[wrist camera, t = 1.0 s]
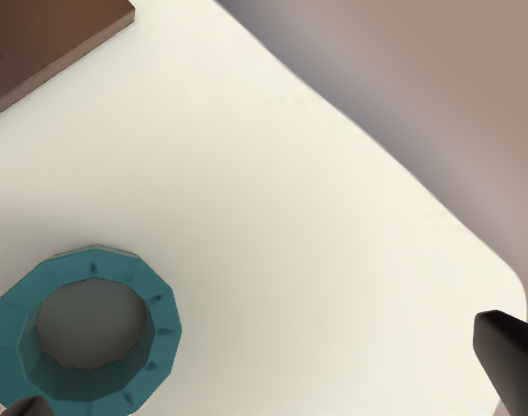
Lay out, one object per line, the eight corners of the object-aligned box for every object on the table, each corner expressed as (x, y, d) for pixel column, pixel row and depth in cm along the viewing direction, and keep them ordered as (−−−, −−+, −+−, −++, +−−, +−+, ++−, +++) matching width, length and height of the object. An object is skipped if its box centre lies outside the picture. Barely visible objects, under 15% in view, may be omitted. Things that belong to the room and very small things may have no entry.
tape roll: (90, 422, 17) (86, 467, 14) (-31, 328, 16) (-67, 355, 12) (194, 310, 19) (212, 327, 16) (97, 217, 18) (95, 215, 15)
